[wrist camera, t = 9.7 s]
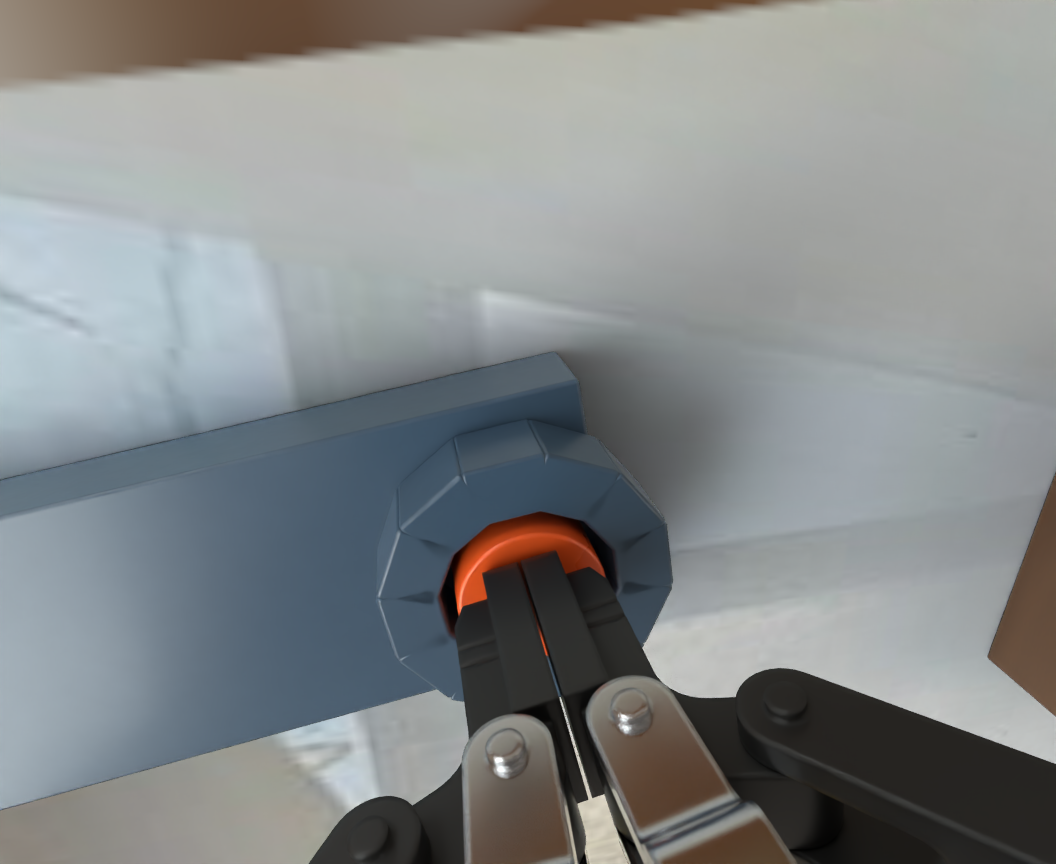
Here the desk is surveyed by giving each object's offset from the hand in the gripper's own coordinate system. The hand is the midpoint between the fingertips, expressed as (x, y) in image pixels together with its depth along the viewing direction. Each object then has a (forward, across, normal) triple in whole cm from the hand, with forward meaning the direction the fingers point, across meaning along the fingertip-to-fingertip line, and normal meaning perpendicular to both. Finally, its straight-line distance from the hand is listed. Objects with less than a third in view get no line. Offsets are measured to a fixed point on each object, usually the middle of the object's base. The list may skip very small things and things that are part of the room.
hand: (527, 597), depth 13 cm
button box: (+4, +6, 0) cm, 8 cm away
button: (+2, 0, 0) cm, 2 cm away
